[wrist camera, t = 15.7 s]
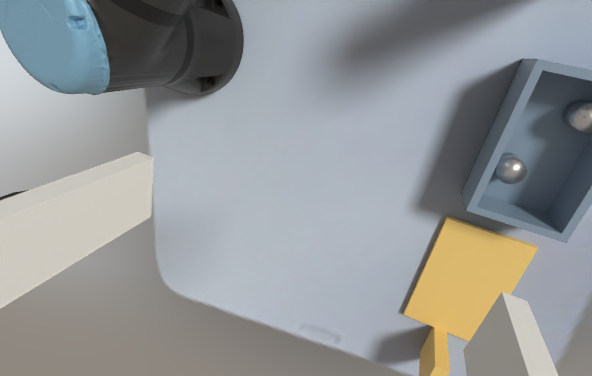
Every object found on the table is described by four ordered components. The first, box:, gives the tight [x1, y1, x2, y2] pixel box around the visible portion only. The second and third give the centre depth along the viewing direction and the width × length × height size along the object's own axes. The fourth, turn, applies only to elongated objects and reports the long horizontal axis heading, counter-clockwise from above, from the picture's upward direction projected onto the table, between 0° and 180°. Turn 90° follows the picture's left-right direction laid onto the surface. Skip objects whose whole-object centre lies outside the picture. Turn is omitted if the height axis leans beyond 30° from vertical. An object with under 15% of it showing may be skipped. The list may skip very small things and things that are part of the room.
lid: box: [404, 216, 538, 376], centre depth 45 cm, size 11×23×8 cm, turn 167°
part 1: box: [494, 153, 527, 184], centre depth 38 cm, size 3×3×3 cm
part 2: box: [562, 101, 592, 133], centre depth 34 cm, size 3×3×3 cm
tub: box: [462, 59, 592, 243], centre depth 36 cm, size 10×16×6 cm, turn 167°
